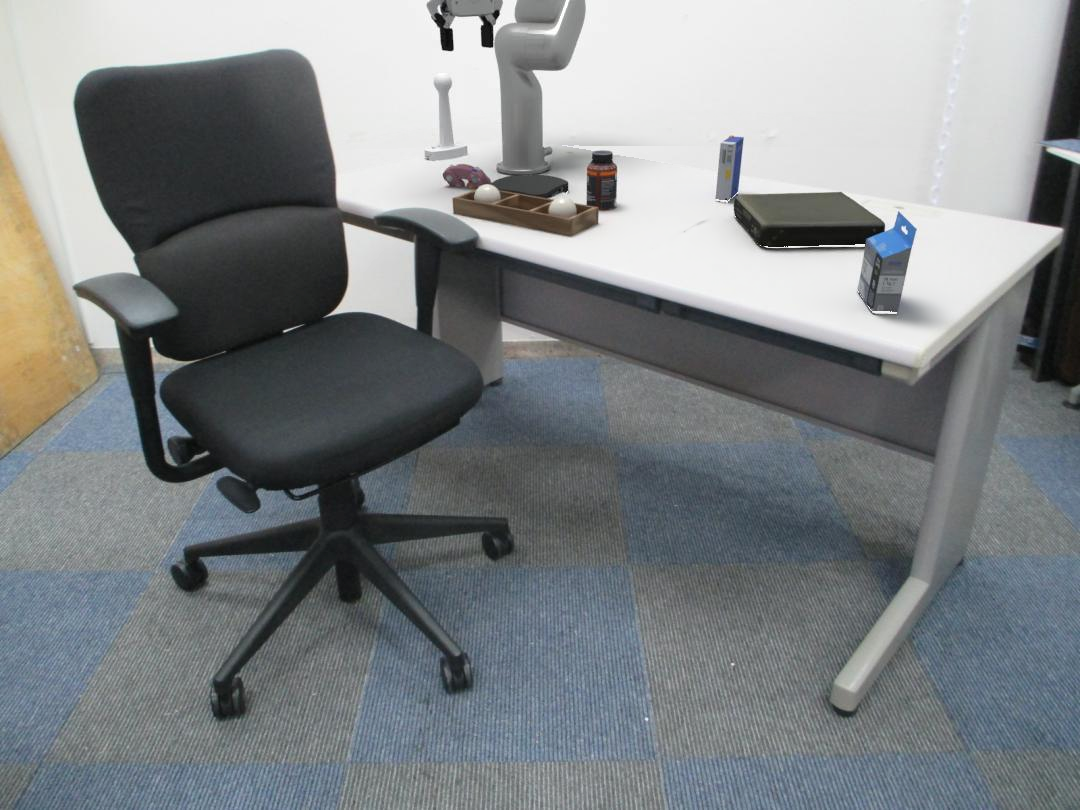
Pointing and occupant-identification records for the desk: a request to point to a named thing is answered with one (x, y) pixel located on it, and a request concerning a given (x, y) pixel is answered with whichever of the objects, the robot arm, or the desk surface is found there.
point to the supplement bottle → (602, 181)
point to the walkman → (729, 167)
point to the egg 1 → (487, 194)
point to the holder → (526, 213)
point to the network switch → (806, 219)
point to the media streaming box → (532, 185)
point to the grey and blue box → (886, 266)
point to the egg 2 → (562, 207)
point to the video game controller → (465, 176)
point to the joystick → (445, 124)
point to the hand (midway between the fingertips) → (467, 49)
